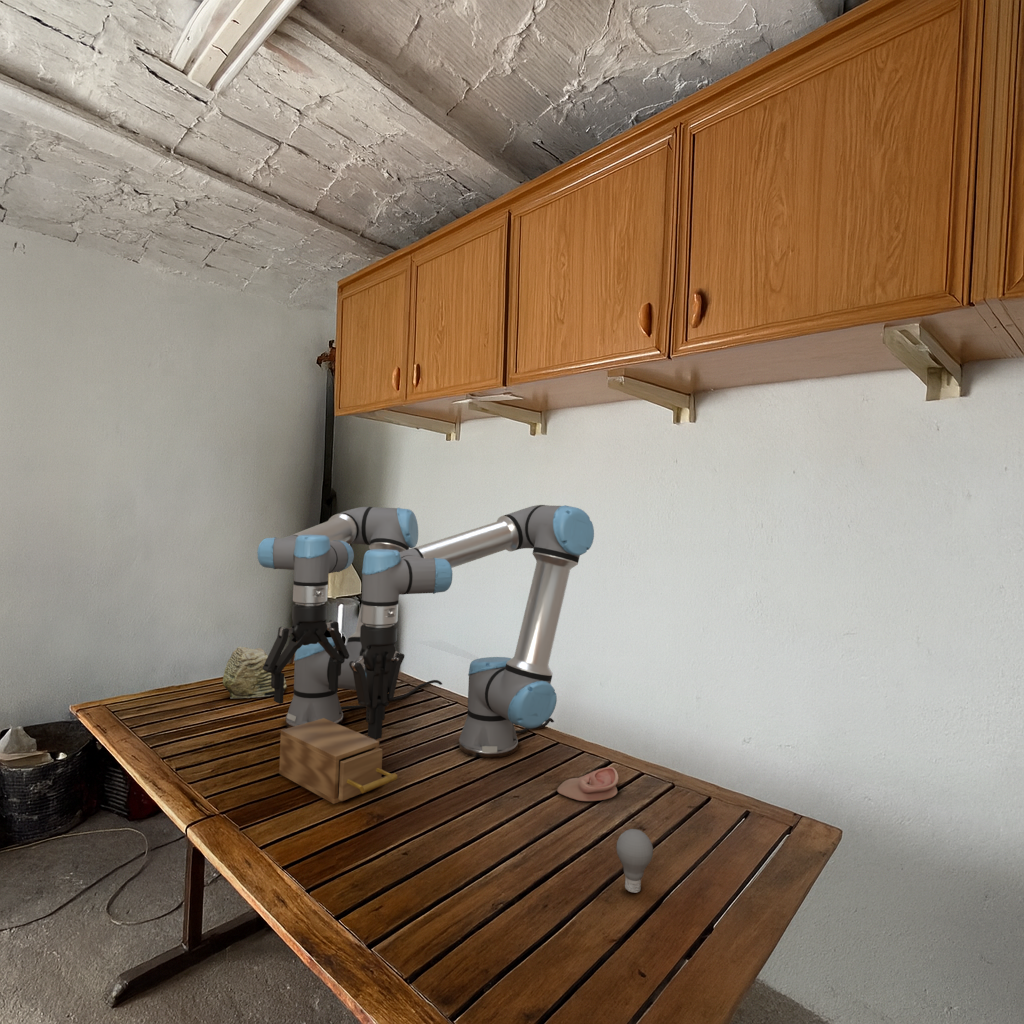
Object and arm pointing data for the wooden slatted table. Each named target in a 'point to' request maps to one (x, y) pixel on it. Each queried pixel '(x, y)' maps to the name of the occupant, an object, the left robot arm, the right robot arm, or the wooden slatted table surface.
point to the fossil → (248, 674)
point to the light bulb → (634, 857)
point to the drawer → (362, 773)
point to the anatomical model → (591, 785)
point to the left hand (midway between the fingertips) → (306, 696)
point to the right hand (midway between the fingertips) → (374, 736)
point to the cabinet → (319, 754)
